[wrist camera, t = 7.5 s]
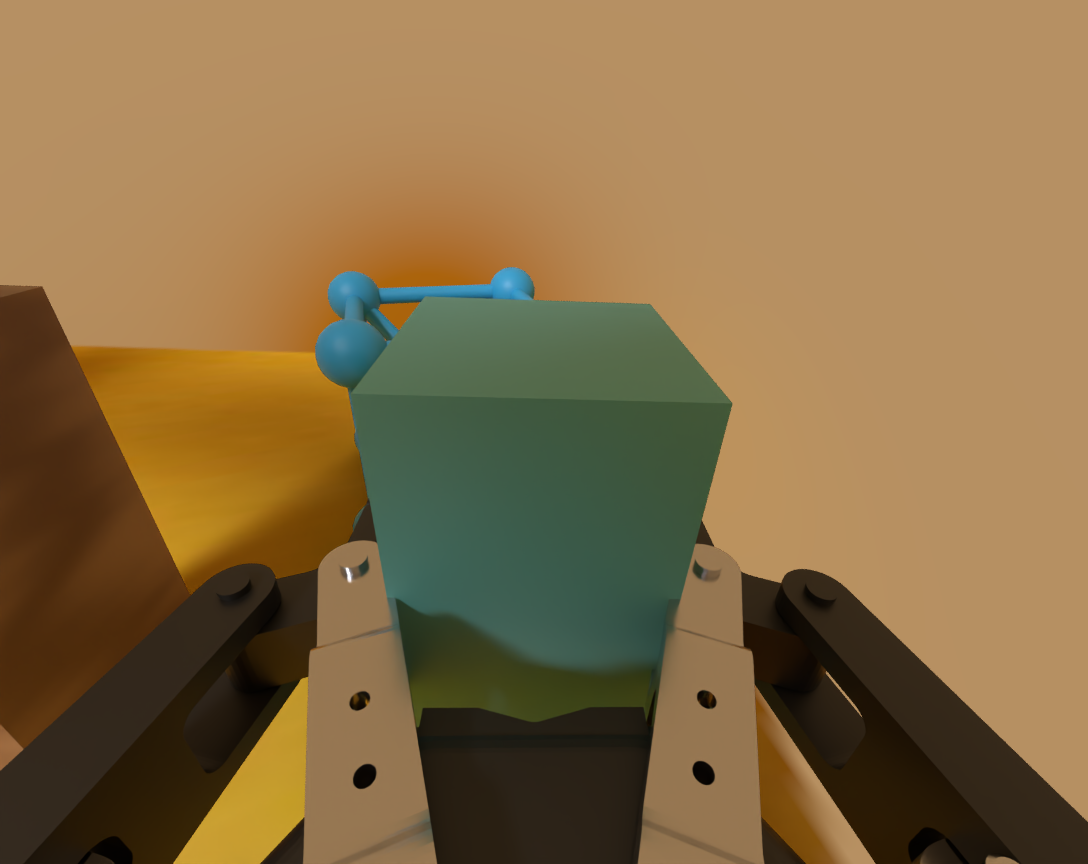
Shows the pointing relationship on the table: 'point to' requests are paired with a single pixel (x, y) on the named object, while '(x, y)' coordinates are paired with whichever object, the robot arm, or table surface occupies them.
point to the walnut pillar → (65, 531)
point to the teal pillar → (535, 496)
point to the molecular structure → (387, 322)
